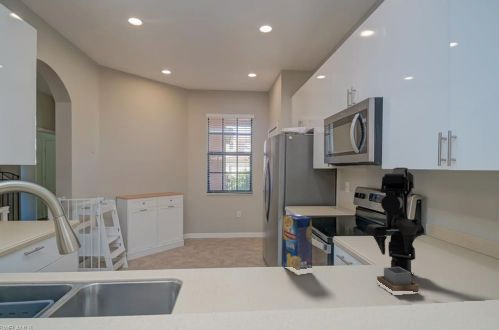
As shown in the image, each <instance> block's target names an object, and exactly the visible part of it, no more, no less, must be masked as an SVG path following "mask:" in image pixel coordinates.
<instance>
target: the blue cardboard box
mask: <svg viewBox="0 0 499 330" xmlns="http://www.w3.org/2000/svg"><path fill="white" fill-rule="evenodd" d="M282 216H283V217H282V219H283V220H282V221H283V223H282V224H283V225H282V227H283V229H282V230H283V233H282V235H283V237H282V238H283V249H282V250H283V251H282V253H283V257H282V258H283V268H284V267H293V268H295V269H296V270H300V269H307V268H312V269H313V237H312V236H313V233H312V232H313V231H312V230H313V229H312V228H313V226H312V225H313V223H312V220H313V219H312V217H310V216H305V215H303V214H298V213H295V214H293V213H292V214H283V215H282Z"/></svg>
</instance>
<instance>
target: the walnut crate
mask: <svg viewBox="0 0 499 330" xmlns="http://www.w3.org/2000/svg"><path fill="white" fill-rule="evenodd" d="M377 280H378V281H379V282H380V283H382V284H383V285H385V286H386V287H388V288H389V289H391V290H392V291H413V292H418V291H419V292H420V285H419V284H418V283H417V282H414V281H412V280H411V285H402V286H393V285H392V284H390V283H388V282H387V281H385V280H384V275H378V276H376V281H377Z"/></svg>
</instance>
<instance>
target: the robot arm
mask: <svg viewBox="0 0 499 330" xmlns="http://www.w3.org/2000/svg"><path fill="white" fill-rule="evenodd" d="M413 189H415V178H414V175H413V174H412V172H410V171H409V169H408V167H394V168H393V171H392V172H390V173H389V172H388V173H387V172H386V173H384V175H383V176H382V178H381V186H380V193H381V194H385V196H384V197H382V199H381V201H380V206H381V208H382V209H383V214H384V215H385V222H383V225H380V224H378V223H377V224H373V223H372V224H368V225H367V227H366V233H367V234H369V235H370V236H372V237H373V238H374V240H375V242H376V244H377V246H378V249H379V251H380V252H381V255H384V256H385V254H386V239H387V238H388V236H387V235H386V234H387V233H392V234H391V235H390V241H388V247H387V248H388V257H389V258H391V260H390V267H400V268H402V269H405V270H407V271H409V272H411V274H412V273H413V274H414V275H415V273H414V272H412V261H414V260H416V248H415V247H414V241H415V240H416V239H417V238H418V237H421V236H422V235H423V234H425V228H424V225H422V220H420V219H419V218H413V219H409V218H408V207H409V198H410V197H411V196H412V194H413Z"/></svg>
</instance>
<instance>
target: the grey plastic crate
mask: <svg viewBox="0 0 499 330" xmlns="http://www.w3.org/2000/svg"><path fill="white" fill-rule="evenodd" d="M411 272H412V271H411ZM411 272H409V271H407V270H405V269H402V268H400V267H391V266H390V267H383V276H384V280H385V281H387V282H388V283H390V284H392V285H393V286H402V285H411V281H412V275H411Z"/></svg>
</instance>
